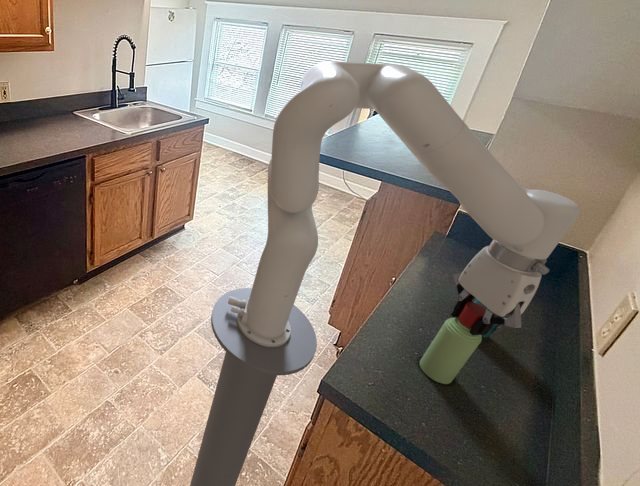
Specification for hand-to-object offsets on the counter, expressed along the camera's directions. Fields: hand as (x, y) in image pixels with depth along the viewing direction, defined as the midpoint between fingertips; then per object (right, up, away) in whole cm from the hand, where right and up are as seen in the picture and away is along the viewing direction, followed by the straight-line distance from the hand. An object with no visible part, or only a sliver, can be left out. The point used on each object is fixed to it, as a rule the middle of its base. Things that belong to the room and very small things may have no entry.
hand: (467, 324), depth 78 cm
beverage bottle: (+16, -9, +19) cm, 26 cm away
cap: (0, +1, 0) cm, 1 cm away
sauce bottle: (-1, -13, +7) cm, 15 cm away
